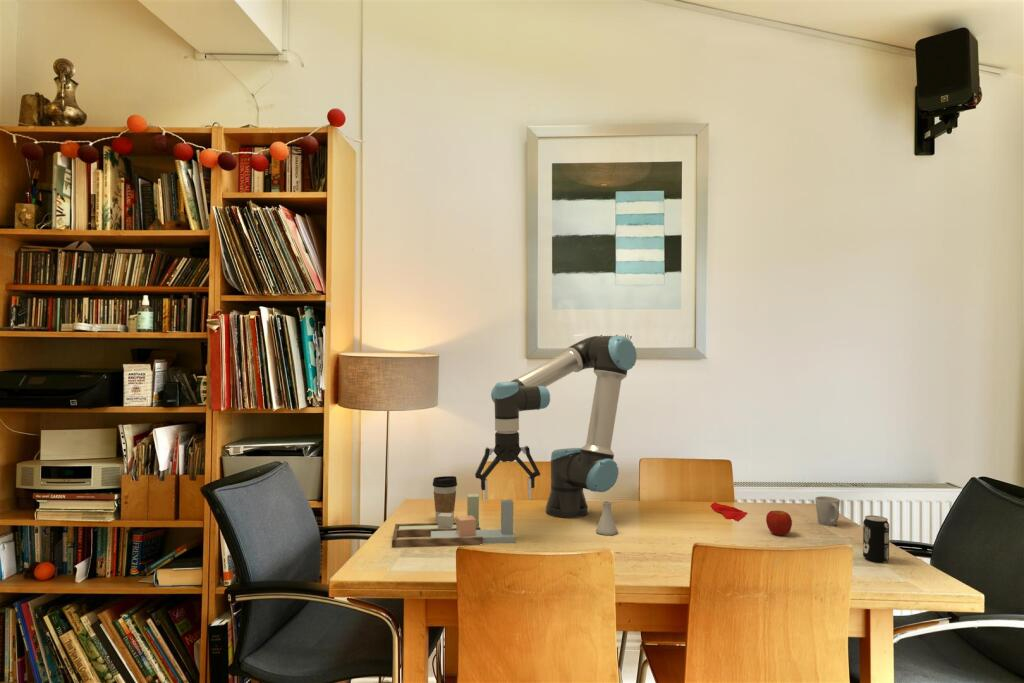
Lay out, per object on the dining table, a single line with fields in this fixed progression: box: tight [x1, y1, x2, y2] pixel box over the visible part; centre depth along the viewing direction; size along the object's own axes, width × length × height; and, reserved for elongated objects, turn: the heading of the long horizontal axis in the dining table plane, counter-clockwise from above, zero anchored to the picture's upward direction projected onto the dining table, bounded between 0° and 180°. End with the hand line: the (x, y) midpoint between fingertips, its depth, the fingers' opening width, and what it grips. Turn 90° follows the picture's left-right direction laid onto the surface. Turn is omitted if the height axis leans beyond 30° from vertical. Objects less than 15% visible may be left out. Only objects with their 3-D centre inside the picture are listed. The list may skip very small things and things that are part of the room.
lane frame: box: [391, 521, 484, 549], centre depth 213 cm, size 27×18×2 cm, turn 97°
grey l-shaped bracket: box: [399, 493, 480, 530], centre depth 218 cm, size 26×5×12 cm, turn 97°
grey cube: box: [437, 513, 454, 528], centre depth 218 cm, size 4×4×4 cm
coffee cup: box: [432, 475, 458, 523], centre depth 233 cm, size 8×8×15 cm
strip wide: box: [430, 499, 516, 544], centre depth 211 cm, size 26×8×12 cm, turn 97°
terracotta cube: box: [455, 515, 476, 537], centre depth 211 cm, size 5×5×5 cm
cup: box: [815, 495, 841, 527], centre depth 231 cm, size 8×10×8 cm
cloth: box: [710, 501, 748, 522], centre depth 247 cm, size 26×14×2 cm, turn 169°
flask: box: [595, 500, 619, 536], centre depth 220 cm, size 7×7×10 cm
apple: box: [765, 510, 793, 536], centre depth 219 cm, size 8×8×8 cm
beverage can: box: [862, 514, 890, 564], centre depth 194 cm, size 7×7×12 cm
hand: (508, 499), depth 212 cm, fingers open, 13 cm apart
